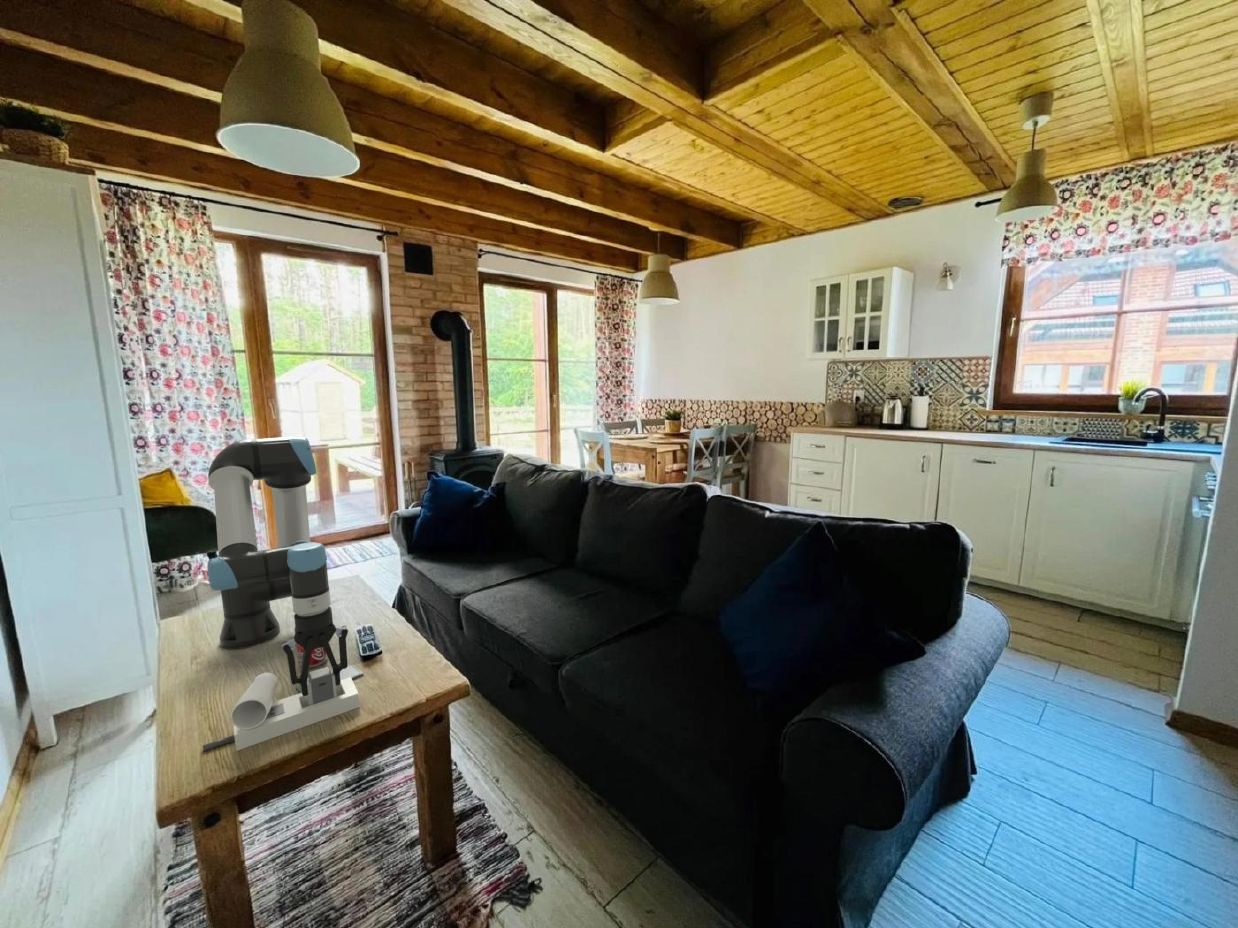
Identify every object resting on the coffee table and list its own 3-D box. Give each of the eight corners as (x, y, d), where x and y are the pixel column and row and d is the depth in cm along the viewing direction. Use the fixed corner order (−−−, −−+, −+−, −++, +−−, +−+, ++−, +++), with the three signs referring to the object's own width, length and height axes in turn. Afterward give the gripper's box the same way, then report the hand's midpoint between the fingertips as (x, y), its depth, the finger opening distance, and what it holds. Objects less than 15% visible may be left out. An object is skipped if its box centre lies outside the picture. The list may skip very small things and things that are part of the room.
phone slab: (296, 690, 131) (295, 686, 131) (352, 667, 142) (352, 663, 141) (306, 701, 127) (305, 697, 126) (363, 677, 137) (363, 672, 137)
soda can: (314, 670, 139) (309, 626, 137) (292, 668, 141) (287, 624, 139) (334, 657, 146) (329, 614, 144) (312, 655, 148) (307, 612, 146)
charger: (312, 703, 122) (308, 671, 121) (331, 697, 125) (328, 665, 124) (314, 712, 119) (311, 679, 118) (335, 705, 121) (331, 673, 120)
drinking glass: (242, 683, 121) (221, 716, 107) (267, 662, 123) (251, 692, 109) (263, 701, 123) (247, 736, 109) (289, 680, 125) (275, 712, 111)
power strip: (203, 762, 105) (200, 744, 105) (204, 739, 112) (201, 722, 112) (359, 706, 123) (358, 690, 123) (352, 689, 130) (350, 674, 130)
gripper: (269, 626, 111) (281, 724, 114) (357, 604, 121) (365, 695, 124) (266, 614, 116) (278, 708, 120) (350, 595, 127) (359, 682, 130)
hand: (323, 701), depth 122 cm, fingers closed on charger, 4 cm apart
